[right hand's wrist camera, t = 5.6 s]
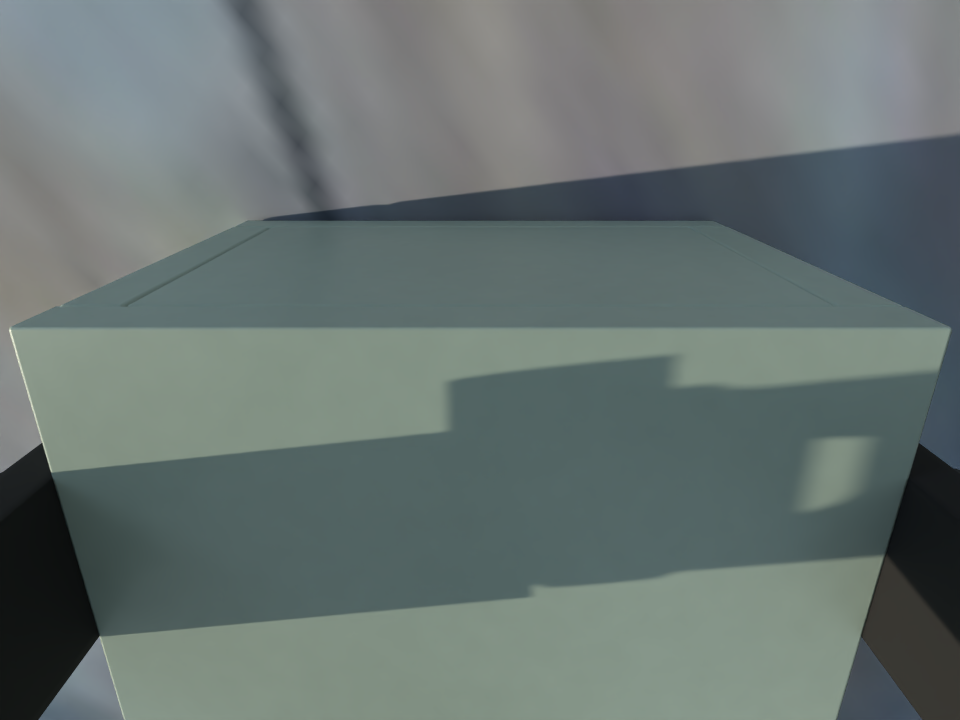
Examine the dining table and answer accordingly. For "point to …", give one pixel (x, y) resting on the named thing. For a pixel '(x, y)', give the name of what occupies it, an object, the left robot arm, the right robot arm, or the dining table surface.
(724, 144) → the dining table surface
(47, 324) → the cabinet
